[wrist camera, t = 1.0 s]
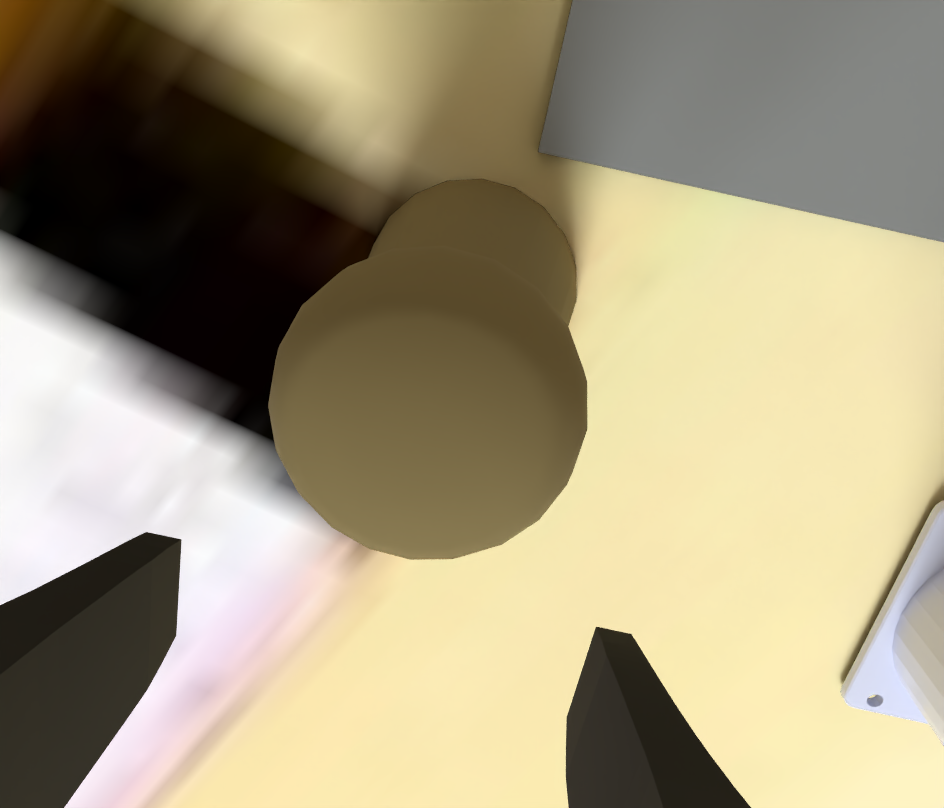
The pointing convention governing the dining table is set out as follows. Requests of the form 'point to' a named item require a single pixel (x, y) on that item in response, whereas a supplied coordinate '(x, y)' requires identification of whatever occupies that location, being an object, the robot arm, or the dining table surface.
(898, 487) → the dining table surface
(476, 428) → the cork
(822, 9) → the slate mat
